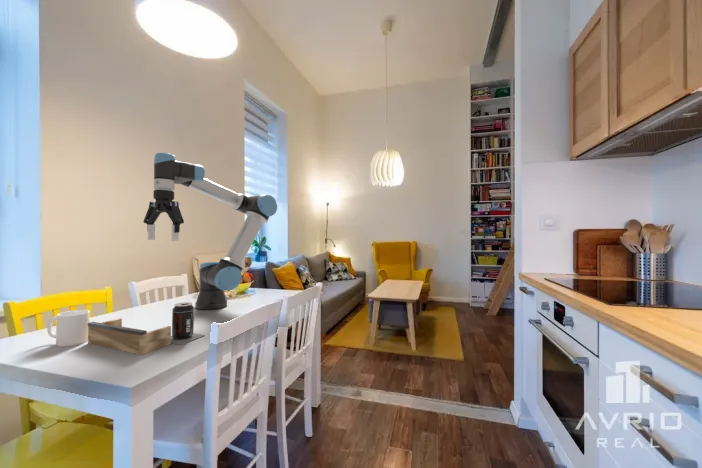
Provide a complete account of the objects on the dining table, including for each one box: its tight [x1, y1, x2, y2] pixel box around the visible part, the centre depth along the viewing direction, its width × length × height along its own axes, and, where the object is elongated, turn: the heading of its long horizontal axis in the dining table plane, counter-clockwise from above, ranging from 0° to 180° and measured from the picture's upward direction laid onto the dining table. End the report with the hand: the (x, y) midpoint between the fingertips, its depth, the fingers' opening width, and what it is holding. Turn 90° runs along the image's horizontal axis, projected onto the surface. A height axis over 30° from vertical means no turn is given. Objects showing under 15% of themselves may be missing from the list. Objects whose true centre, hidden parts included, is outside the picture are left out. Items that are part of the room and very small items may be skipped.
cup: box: [46, 309, 91, 348], centre depth 102 cm, size 8×12×10 cm
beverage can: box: [171, 301, 195, 340], centre depth 108 cm, size 7×7×12 cm
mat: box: [171, 332, 206, 346], centre depth 108 cm, size 10×10×1 cm
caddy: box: [87, 317, 172, 355], centre depth 102 cm, size 10×25×7 cm, turn 71°
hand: (162, 240), depth 127 cm, fingers open, 13 cm apart
